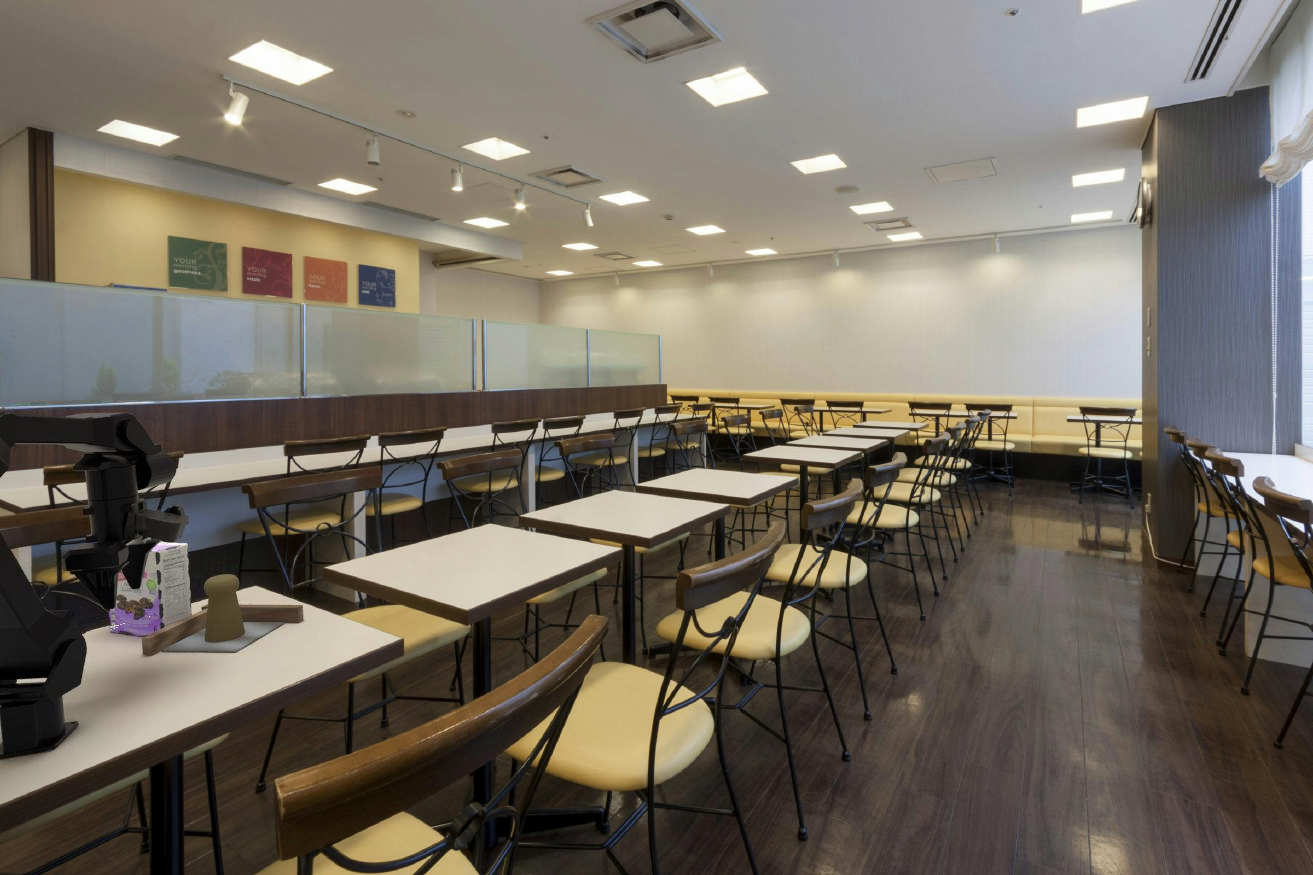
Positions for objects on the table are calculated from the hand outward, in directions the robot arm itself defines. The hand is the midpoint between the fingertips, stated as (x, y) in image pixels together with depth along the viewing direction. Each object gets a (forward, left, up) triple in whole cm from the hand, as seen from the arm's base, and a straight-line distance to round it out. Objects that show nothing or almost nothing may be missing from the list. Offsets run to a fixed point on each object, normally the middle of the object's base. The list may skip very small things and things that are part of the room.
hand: (123, 598), depth 96 cm
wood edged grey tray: (+15, -9, -13) cm, 22 cm away
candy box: (+24, +5, -13) cm, 28 cm away
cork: (+15, -9, -13) cm, 21 cm away
